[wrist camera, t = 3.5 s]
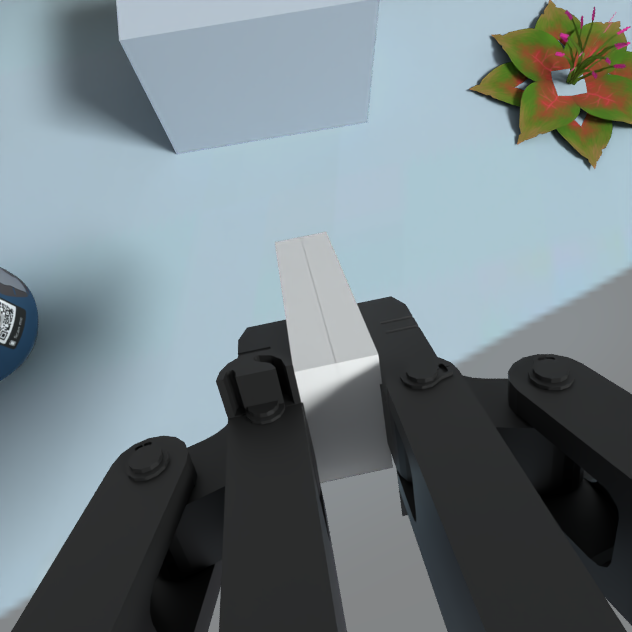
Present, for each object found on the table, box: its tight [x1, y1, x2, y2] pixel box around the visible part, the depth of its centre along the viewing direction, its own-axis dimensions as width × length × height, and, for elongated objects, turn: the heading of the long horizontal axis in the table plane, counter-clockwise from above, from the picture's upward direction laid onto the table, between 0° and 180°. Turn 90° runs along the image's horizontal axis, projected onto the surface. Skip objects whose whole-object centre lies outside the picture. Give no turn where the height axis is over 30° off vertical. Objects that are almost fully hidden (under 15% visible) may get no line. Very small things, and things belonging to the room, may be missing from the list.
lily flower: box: [470, 0, 632, 169], centre depth 31 cm, size 12×12×5 cm
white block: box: [116, 0, 380, 154], centre depth 29 cm, size 12×8×9 cm, turn 100°
